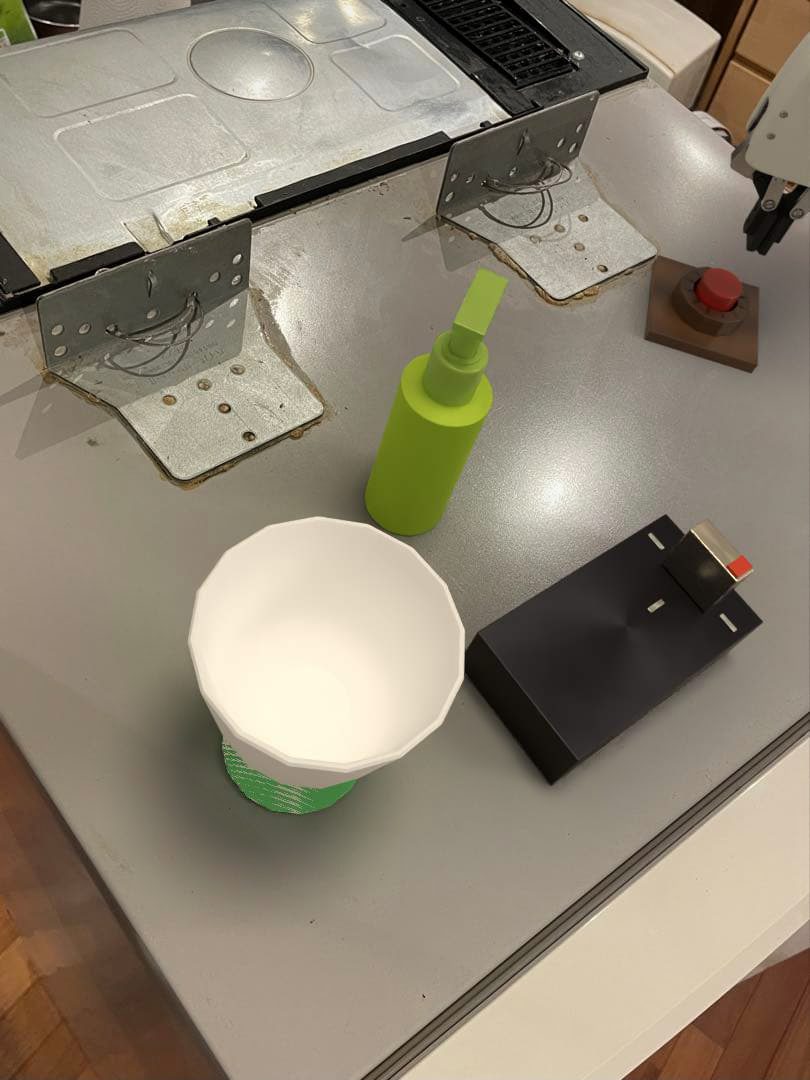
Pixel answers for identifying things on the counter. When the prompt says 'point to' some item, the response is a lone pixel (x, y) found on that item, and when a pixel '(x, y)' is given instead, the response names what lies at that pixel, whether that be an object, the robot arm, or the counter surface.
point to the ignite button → (718, 289)
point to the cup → (323, 656)
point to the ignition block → (701, 317)
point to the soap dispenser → (435, 418)
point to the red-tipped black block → (707, 565)
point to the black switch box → (600, 650)
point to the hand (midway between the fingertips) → (755, 241)
